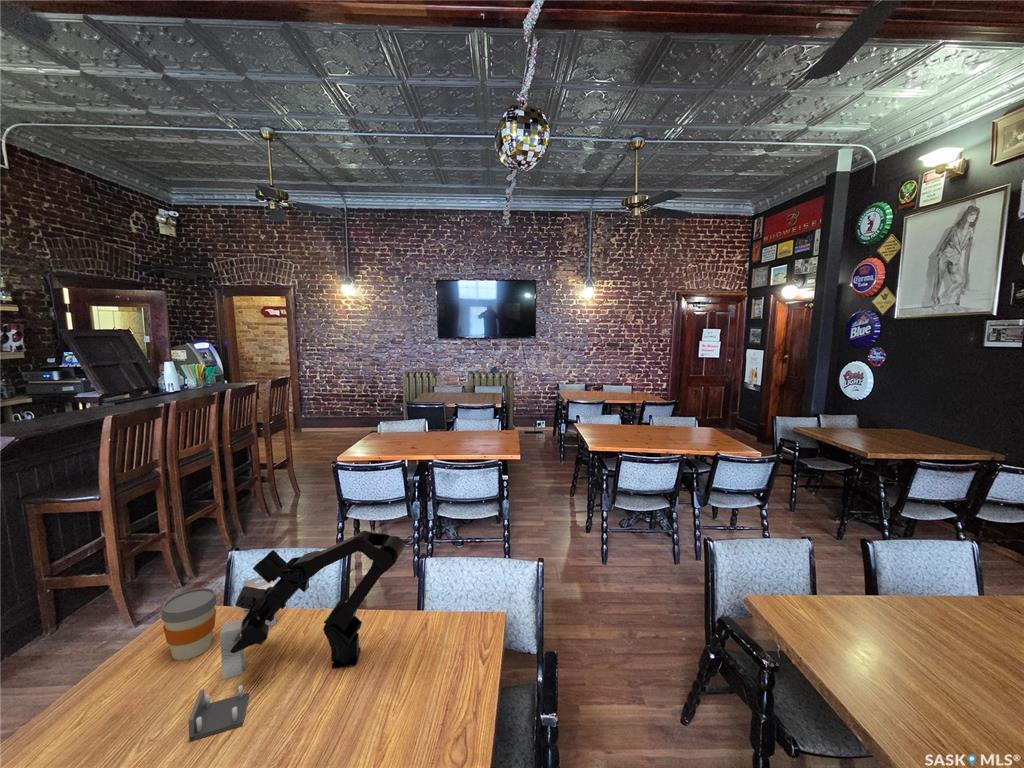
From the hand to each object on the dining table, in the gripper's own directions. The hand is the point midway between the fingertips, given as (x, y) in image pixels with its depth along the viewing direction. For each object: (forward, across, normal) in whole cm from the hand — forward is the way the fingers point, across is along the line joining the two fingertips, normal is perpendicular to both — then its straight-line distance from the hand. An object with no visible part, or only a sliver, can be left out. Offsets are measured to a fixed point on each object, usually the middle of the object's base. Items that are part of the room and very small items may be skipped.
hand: (235, 640), depth 112 cm
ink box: (+4, -19, +8) cm, 21 cm away
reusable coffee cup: (+16, -14, -3) cm, 21 cm away
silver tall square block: (+6, 0, +6) cm, 8 cm away
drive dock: (+6, +16, +6) cm, 18 cm away
